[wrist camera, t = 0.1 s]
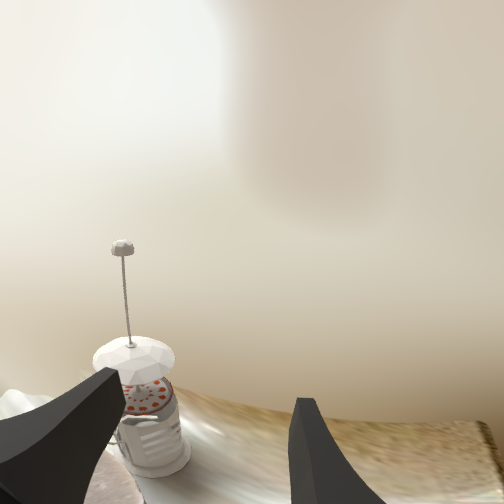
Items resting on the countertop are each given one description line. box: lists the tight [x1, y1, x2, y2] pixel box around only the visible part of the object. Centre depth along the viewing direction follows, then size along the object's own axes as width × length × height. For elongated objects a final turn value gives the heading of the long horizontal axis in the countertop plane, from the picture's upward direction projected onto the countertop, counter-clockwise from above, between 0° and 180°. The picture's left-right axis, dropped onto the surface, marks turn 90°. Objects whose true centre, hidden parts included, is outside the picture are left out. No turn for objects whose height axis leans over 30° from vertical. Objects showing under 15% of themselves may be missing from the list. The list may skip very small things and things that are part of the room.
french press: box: [93, 240, 192, 478], centre depth 25 cm, size 10×12×25 cm
